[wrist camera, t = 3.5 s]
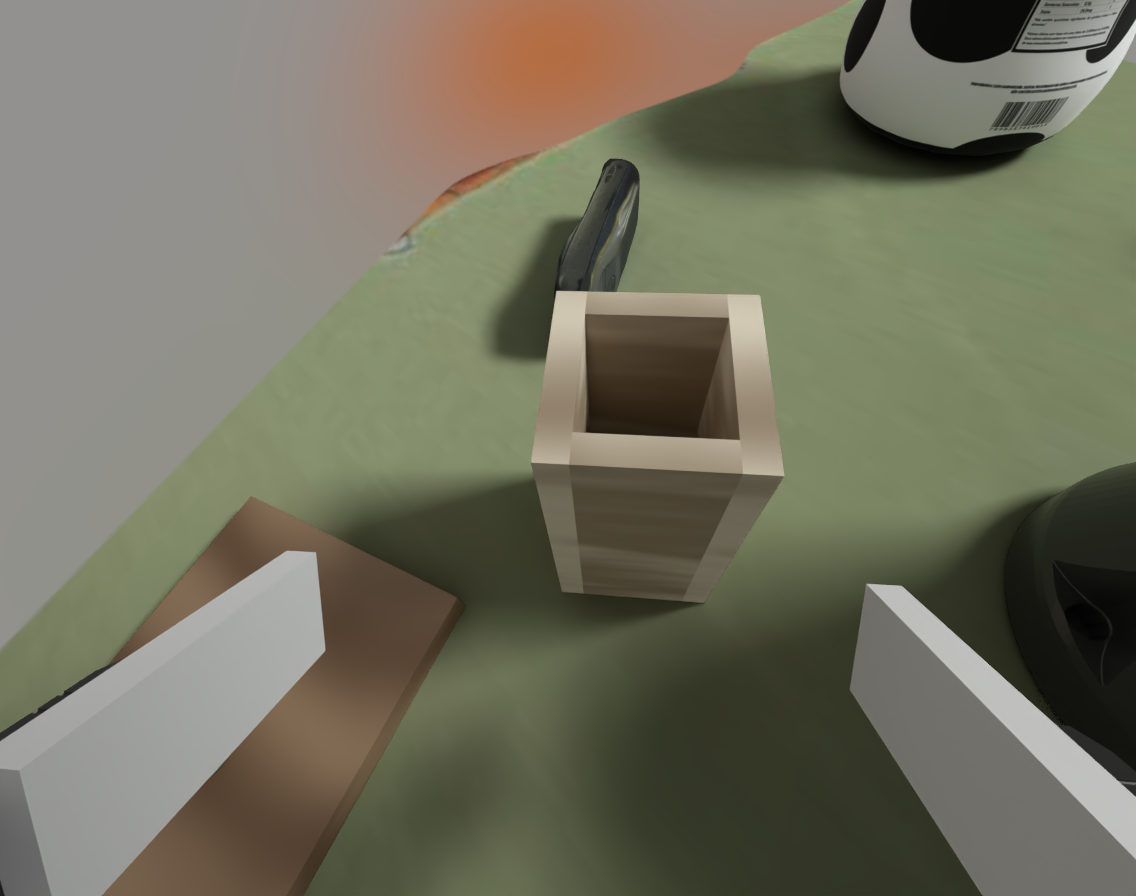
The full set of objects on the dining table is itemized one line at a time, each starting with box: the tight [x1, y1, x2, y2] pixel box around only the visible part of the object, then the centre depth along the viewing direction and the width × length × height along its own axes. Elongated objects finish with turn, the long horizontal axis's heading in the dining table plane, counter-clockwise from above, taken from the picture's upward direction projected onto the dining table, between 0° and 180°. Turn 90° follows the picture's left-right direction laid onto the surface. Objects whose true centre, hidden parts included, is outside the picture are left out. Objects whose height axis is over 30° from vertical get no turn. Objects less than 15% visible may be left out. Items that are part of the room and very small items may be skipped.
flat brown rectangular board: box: [32, 496, 465, 896], centre depth 18 cm, size 18×12×9 cm, turn 155°
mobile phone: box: [554, 159, 640, 304], centre depth 32 cm, size 5×3×15 cm
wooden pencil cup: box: [531, 291, 784, 603], centre depth 20 cm, size 6×6×12 cm
